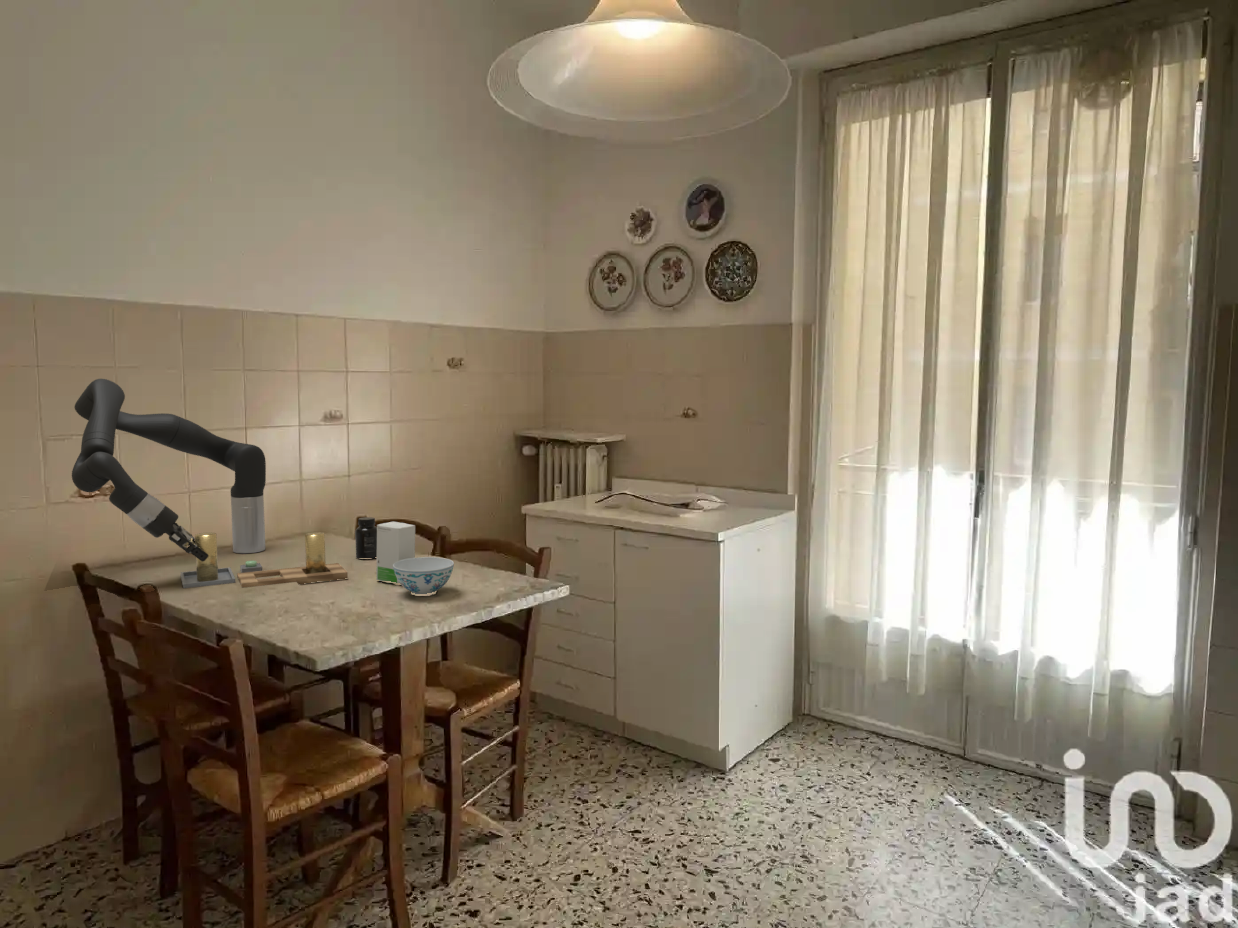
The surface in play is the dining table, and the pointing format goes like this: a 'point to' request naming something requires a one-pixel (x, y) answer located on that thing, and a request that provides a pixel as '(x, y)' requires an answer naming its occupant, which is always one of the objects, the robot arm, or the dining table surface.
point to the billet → (210, 566)
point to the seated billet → (315, 552)
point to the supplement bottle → (366, 538)
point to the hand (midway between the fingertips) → (204, 555)
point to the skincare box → (393, 548)
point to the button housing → (250, 568)
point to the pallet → (291, 576)
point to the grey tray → (191, 581)
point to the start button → (251, 563)
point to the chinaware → (423, 573)
